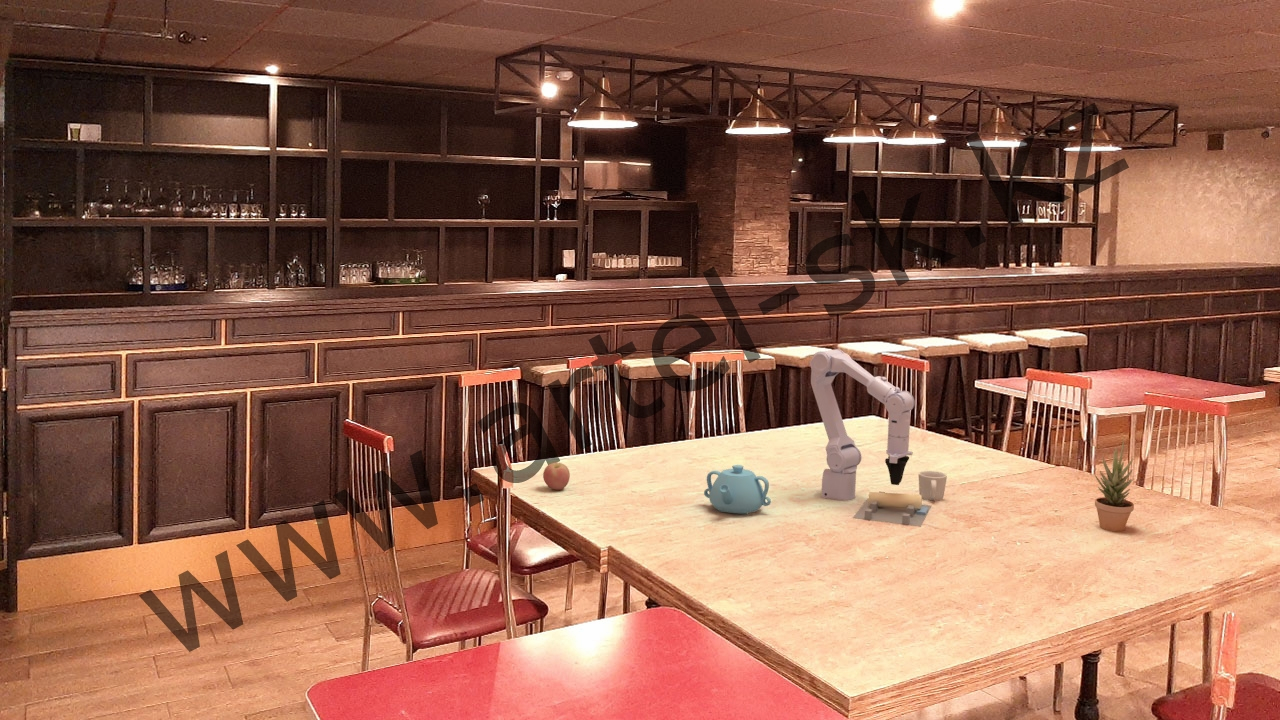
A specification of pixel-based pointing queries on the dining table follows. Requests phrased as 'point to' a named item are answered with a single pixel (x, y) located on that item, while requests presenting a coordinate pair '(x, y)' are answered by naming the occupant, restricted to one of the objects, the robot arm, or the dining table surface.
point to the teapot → (737, 491)
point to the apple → (556, 476)
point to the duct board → (893, 514)
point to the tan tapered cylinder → (895, 500)
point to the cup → (932, 485)
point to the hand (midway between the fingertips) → (896, 483)
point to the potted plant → (1114, 496)
